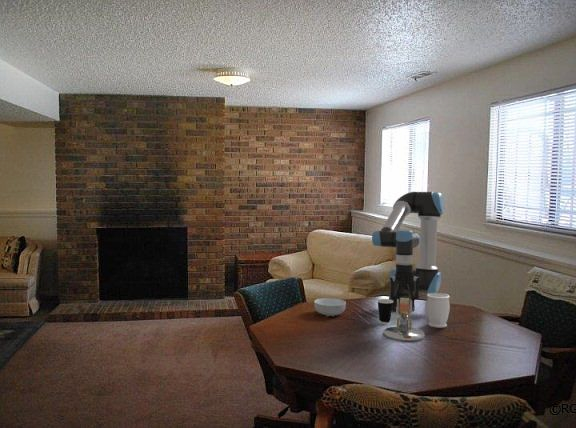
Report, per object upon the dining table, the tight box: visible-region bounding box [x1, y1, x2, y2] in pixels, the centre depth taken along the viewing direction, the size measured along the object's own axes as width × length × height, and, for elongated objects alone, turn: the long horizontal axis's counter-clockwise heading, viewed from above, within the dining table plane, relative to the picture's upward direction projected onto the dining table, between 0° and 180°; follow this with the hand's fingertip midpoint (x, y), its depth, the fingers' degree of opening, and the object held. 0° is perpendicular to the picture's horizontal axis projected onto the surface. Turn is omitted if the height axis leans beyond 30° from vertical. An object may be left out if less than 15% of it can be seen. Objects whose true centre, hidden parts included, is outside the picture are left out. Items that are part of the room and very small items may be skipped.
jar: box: [426, 292, 451, 329], centre depth 235 cm, size 11×10×15 cm
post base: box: [383, 316, 425, 343], centre depth 220 cm, size 18×18×8 cm
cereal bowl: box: [313, 297, 347, 317], centre depth 255 cm, size 17×17×7 cm
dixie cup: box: [376, 298, 393, 325], centre depth 240 cm, size 8×8×11 cm
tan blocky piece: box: [396, 298, 413, 330], centre depth 219 cm, size 7×13×13 cm, turn 166°
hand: (403, 313), depth 223 cm, fingers open, 5 cm apart
